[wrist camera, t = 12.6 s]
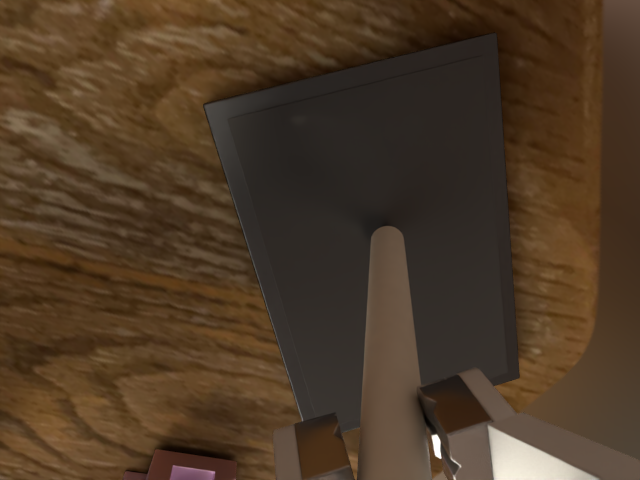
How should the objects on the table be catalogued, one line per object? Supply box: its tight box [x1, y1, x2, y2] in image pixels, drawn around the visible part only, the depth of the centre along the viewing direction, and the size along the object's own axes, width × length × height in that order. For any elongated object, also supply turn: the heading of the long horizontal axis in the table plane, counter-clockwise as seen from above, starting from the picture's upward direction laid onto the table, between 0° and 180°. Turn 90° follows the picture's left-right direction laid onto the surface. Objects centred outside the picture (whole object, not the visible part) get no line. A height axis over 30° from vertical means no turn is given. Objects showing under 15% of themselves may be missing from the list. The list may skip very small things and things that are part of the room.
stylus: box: [357, 226, 432, 480], centre depth 14 cm, size 2×2×15 cm
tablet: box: [203, 32, 520, 433], centre depth 22 cm, size 19×13×1 cm
